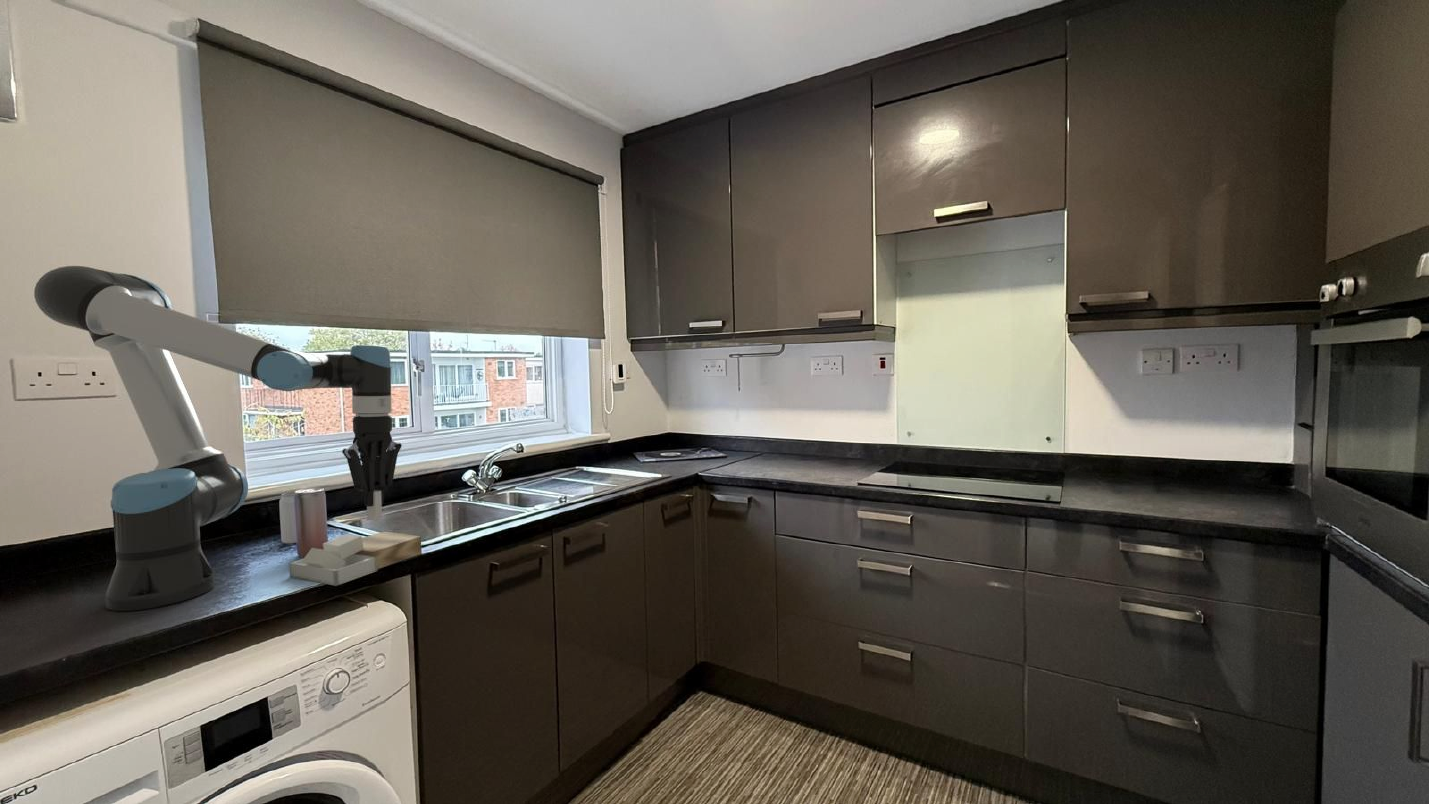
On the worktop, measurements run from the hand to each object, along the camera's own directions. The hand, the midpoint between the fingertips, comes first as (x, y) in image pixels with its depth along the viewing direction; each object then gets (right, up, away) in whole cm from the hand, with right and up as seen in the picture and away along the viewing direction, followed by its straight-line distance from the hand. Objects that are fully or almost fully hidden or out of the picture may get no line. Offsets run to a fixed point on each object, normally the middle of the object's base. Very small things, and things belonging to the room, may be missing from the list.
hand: (374, 519), depth 131 cm
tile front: (-3, -5, -10) cm, 12 cm away
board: (+1, -9, +1) cm, 9 cm away
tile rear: (-2, -6, -7) cm, 9 cm away
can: (-29, -9, +16) cm, 34 cm away
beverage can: (-17, -9, +5) cm, 20 cm away
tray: (-3, -10, -9) cm, 14 cm away
